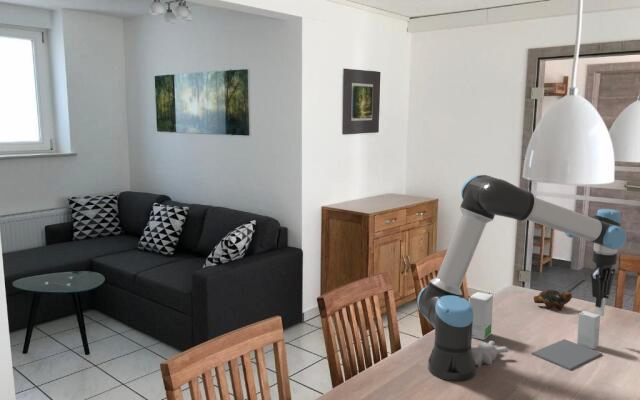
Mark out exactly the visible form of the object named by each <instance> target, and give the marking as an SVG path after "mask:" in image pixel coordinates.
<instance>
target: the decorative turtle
mask: <svg viewBox="0 0 640 400" xmlns="http://www.w3.org/2000/svg"><path fill="white" fill-rule="evenodd" d="M572 298H573V295H572V293H571V292H570V291H563V292H562V293H561V292H560V291H557V290H555V289H547V290H544V291H541V292H539V294H538V295H535V296H533V298H532V299H533V302H534V303H535V304H544V305H545V307H546V309H547V310H552V309H553V308H555V309H556V310H557V311H559V312H561V311H562V310H563V309H564V307H565V305H567V304H568V303H569V302H570V301H571V300H572Z"/></svg>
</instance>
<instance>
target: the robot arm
mask: <svg viewBox="0 0 640 400" xmlns="http://www.w3.org/2000/svg"><path fill="white" fill-rule="evenodd" d="M460 195H461V198H462V201H461V204H460V206H459V209H460V212H461V216H460V219H459V221H458V223H457V226H456V228H455V230H454V233H453V235H452V237H451V240H450V243H449V246H448V248H447V250H446V253H445V256H444V258H443V261H442V263H441V265H440V268H439V270H438V272H437V275H436V277H434V278H431V279H430V280H429V282H428V285H427V286H425V287H423V288H422V289H421V290H420V291H419V293H418V296H417V302H416V303H417V308H418V310H419V313H420V314H421V315H422V317H423V318H424V319H426V320H427V322H428V323H429V324H430V325H431V326H432V327H433V328H434V342H433V345H434V346H433V348H432V350H431V352H430V355H429V358H428V361H427V362H428V363H427V368H428V371H429V372H430V373H431V375H434V376H436V377H437V378H439V379H442V380H447V381H451V382H452V381H453V382H454V381H455V382H460V381H461V382H462V381H468V380H470V379H472V378H474V377H475V375H476V370H477V365H475V362H474V360H473V355H472V351H471V347H472V344H473V343H472V342H473V340H472V338H473V337H472V327H473V318H474V315H473V307H472V305H471V303H470V300H467V299H466V298H464V297H462V296H463V292H462V289H461V286H462V284H463V282H464V278H465V276H466V274H467V272H468V269H469V266H470V263H471V262H472V259H473V257H474V254H475V252H476V249H477V248H478V245H479V242H480V240H481V238H482V235H483V233H484V231H485V228H486V226H487V223H488V224H489V222H492V221H493V220H494V218H495V216H499V217H504V218H509V219H513V220H517V221H519V222H524V221H528V222H529V221H530V222H532V223H535V224H539V225H542V226H545V227H547V228H550V229H553V230H556V231H558V232H562V233H564V234H565V236H566V237H568V238H571V239H572V238H573V239H577V238H578V239H579V238H580V239H583V240H585V241H588V242H591V243H593V252H592V253H593V254H592V262H593V263H595V268H594V272H590V278H591V292H592V293H591V294H592V298H595V302H594V303H595V305H594V314H598V315H600V317H603V316H604V315H605V307H606V299H609V297H610V293H611V289H612V285H613V279H614V276H615V273H616V268H613V266H614V265H617V259H618V255H617V253H618V249H620V248H623V246H624V245H625V244H626V241H627V232H626V231H625V230H624V229H623V228H622V227H621V220H622V219H621V216H622V215H621V212H620V211H618V210H616V209H609V208H600V209H598V210H596V211H597V212H596V215H586V214H583V213H581V212H577V211H574V210H571V209H568V208H565V207H563V206H560V205H557V204H555V203H552V202H549V201H546V200H543V199H541V198H537V197H536V196H535V194H534V193H533V192H531V191H528V190H525V189H522V188H520V187H518V186H516V185H514V184H513V183H511V182H509V181H508V180H507V181H506V180H504V179H501V178H496V177H493V176H491V175H488V174H487V175H486V174H476V175H473V176H471V177H469V178H468V179H467V180H465V182H464V183H463V185H462V187H461V194H460Z"/></svg>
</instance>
